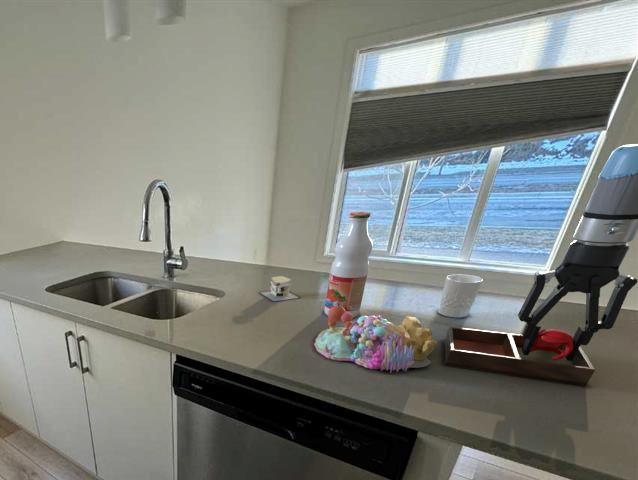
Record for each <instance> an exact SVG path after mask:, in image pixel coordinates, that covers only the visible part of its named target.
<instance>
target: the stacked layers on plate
mask: <svg viewBox="0 0 638 480" xmlns="http://www.w3.org/2000/svg"><path fill="white" fill-rule="evenodd" d="M270 278H271V281H270V283H271V286H270V287H269V288H270V291H263V292H260V294H261V295H263V296H264V297H266V298H268V299H269V300H270V301H273V302H279V301H286V300H293V299H299V297H298V296H297V295H295V294H293V293H291V292H290V291H291V289H290V286H291V285H292V284H291V282H290V281H292V279H291V278H289V277H287V276H286V277H285V276H283V275H280V276H279V275H277V276H272V277H270Z"/></svg>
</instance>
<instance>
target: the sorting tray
mask: <svg viewBox="0 0 638 480" xmlns="http://www.w3.org/2000/svg"><path fill="white" fill-rule="evenodd" d="M525 341H526V339H523V336H522V334H519V333H510V332H500V331H493V330H483V329H475V328H465V327H457V326H448V329H447V333H446V335H445V338H444V357H445V358H444V364H445V366H448V367H455V368H462V369H469V370H474V371H475V370H476V371H481V372H487V373H495V374H501V375H509V376H513V377H514V376H515V377H521V378H527V379H534V380H541V381H546V382H553V383H560V384H567V385H573V386H580V387H587V386H588V383H589V382H590V380H591V378H592V376H593V374H594V372H595V371H596V368H595V367H594V365H593V364H592V362H591V360H590V359H589V358H588V356H587V354H586V352H585V351H584V349H583V348H582V345H580V347H579V349H578V351H577V353H576V355H575V357H574V359H573V361H568V360H567V359H566V357H564V358H562V359H560V360H556V361H553V360H552V358H553V357H555V356H559V354H557V353H555V352H552V351H546V350H535V351H533V352H530V353H529V355H523V352H522V348H523V346H524V343H525ZM563 346H564V344H561V345H560V346H558V347H557V349H560V350H563Z"/></svg>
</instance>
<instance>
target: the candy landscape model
mask: <svg viewBox="0 0 638 480" xmlns="http://www.w3.org/2000/svg"><path fill="white" fill-rule="evenodd" d="M353 319H354V318H353V316H352V314H351V313H346V311H345V309H344V308H343V307H342V306H338V305H337V306H334V307H332V308H331V309H330V310H329V312H328V315H327V326H328V327H329V328H326V329H324V330H322V331H321V332H319V333H318V335H317V337H316V338H315V342H314V344H313V345H314V347H315V349H316V351H317V353H319V354H321V355H322V356H324V357H325V358H327V359H331V360H332V361H339V362H342V361H343V362H344V361H345V362H354V363H355V364H357V365H359V366H362V367H364V368H366V369H370V370H380V372H381V371H384V370H386V371H389V370H390V371H389V373H390V374H391V373H392V371H396V372H397V373H398V372H399V370H402V371H404V372H407V370H408V369H410V368H411V369H412V368H415V369H419V368H424V367H425V368H426V367H427V366H428V365H430V364H431V363H432V361H431V360H430V359H428V357H429V356H430V355H431V353H432V352H433V351H434V349H435V348H436V345H437V344H438V342H437V340H436V339H433V338H432V334H433V331H432V329H430V328H428V327H424V328H423V327H422V324H421V322H420V320H419V319H418V318H417V317H415V316H409V315H406V316H405V317H404V319H403V320H402V322H401V324H399V325H397V326H395V325H394V323H392V322H391V321H388V320H387V319H386V318H382V316H381V315H376V316H375V315H369V316H367V315H362V316H360V317H359V318H358V319H357V320H356V321H355V322H354V323H353V322H352V321H353ZM340 321H341V322H342V323H344V327H343V326H342V327H341V326H340V327H335V326H336V325H337V323H338V322H340Z"/></svg>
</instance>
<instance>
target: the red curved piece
mask: <svg viewBox="0 0 638 480" xmlns="http://www.w3.org/2000/svg"><path fill="white" fill-rule="evenodd" d="M561 344H564V346H563V350H560V349H557V347H558V346H560V345H561ZM572 349H573V336H572V335H571V334H570V333H568V332H567V331H564V330H561V329H544V328H543V329H540V331H539V333H538V335H537V337H536V339H535V342H534V344H533V346H532V348H531V350H530V352H533V351H535V350H546V351H552V352H555V353H557V354H559V356H555V357H553V358H552V360H553V361H556V360H560V359H562V358H564V357H566V356H567V355H568V354H569V353H570V352H571V351H572Z"/></svg>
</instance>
